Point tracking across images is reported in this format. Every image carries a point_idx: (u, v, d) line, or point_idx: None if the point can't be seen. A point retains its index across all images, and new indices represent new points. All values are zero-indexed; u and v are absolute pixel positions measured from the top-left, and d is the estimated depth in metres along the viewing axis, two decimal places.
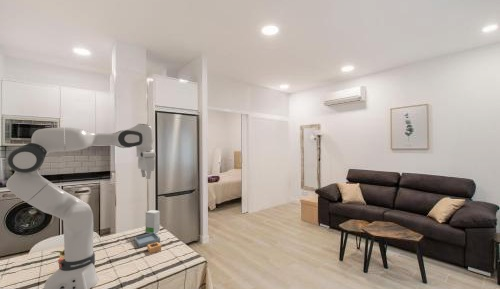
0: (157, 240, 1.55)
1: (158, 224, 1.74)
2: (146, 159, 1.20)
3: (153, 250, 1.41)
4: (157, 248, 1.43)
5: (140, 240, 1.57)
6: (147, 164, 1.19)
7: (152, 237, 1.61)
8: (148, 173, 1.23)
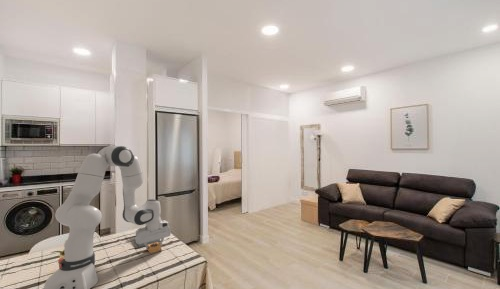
0: (157, 240, 1.55)
1: None
2: None
3: (153, 250, 1.41)
4: (157, 248, 1.43)
5: None
6: None
7: None
8: None
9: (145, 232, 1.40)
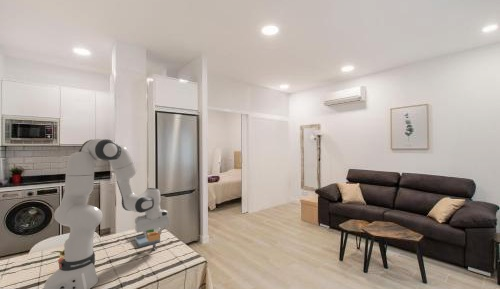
0: (157, 240, 1.55)
1: None
2: (168, 216, 1.48)
3: (152, 239, 1.41)
4: (156, 237, 1.42)
5: (140, 240, 1.57)
6: (169, 219, 1.49)
7: None
8: None
9: (144, 220, 1.39)
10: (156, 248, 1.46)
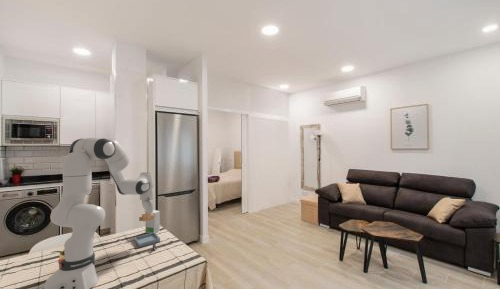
0: (157, 240, 1.55)
1: (158, 224, 1.74)
2: None
3: None
4: None
5: (140, 240, 1.57)
6: None
7: (152, 237, 1.61)
8: None
9: None
10: (156, 248, 1.46)
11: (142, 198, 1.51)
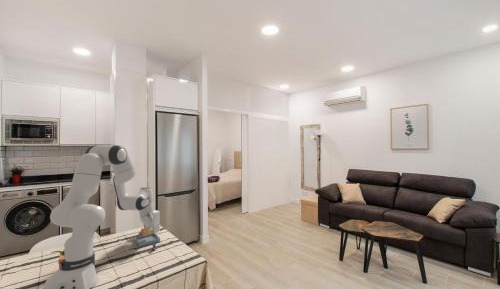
0: (157, 240, 1.55)
1: (158, 224, 1.74)
2: None
3: None
4: None
5: (140, 240, 1.57)
6: None
7: (152, 237, 1.61)
8: None
9: None
10: (156, 248, 1.46)
11: (142, 213, 1.53)
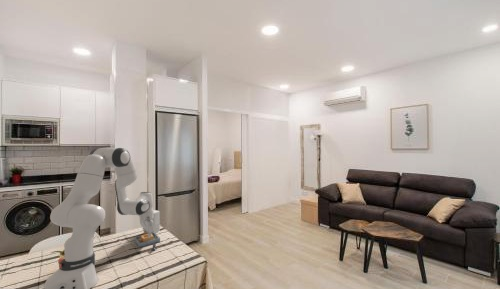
0: (157, 240, 1.55)
1: (158, 224, 1.74)
2: None
3: None
4: None
5: None
6: None
7: None
8: None
9: None
10: (156, 248, 1.46)
11: (142, 218, 1.52)
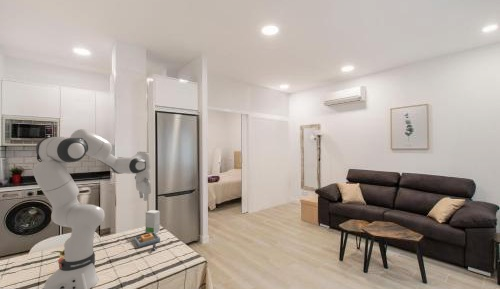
0: (157, 240, 1.55)
1: (158, 224, 1.74)
2: None
3: None
4: None
5: None
6: None
7: None
8: None
9: None
10: (156, 248, 1.46)
11: (139, 179, 1.41)
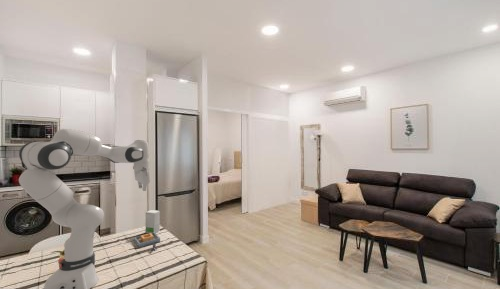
0: (157, 240, 1.55)
1: (158, 224, 1.74)
2: None
3: None
4: None
5: None
6: None
7: None
8: None
9: None
10: (156, 248, 1.46)
11: (137, 168, 1.36)
